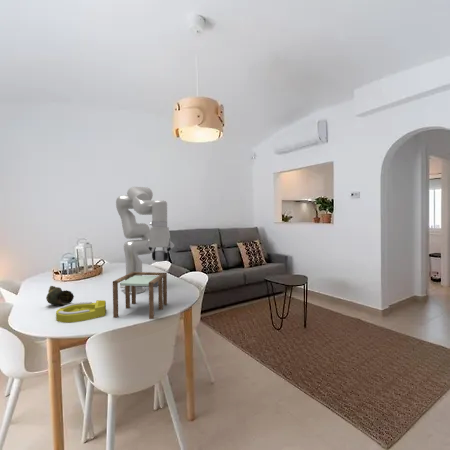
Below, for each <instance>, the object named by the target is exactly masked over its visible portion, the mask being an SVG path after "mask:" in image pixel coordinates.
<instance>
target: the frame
mask: <svg viewBox="0 0 450 450" xmlns="http://www.w3.org/2000/svg"><path fill="white" fill-rule="evenodd" d="M135 275H142V276H158V277H156V278H155V279H153V280H152V281H150V282H149V287H148V314H149V316H148V318H149V319H150V320H153V319H154V318H155V303H154V302H155V301H154V300H155V298H154V297H155V296H154V295H155V294H154V288H155V287H153V284H155V283H156V282H157V281H158V287H157V288H158V291H157V292H158V297H157V298H158V299H157V300H158V310H163V307H164V306H167V305H168V284H167V282H168V275H167V272H152V271H149V272H147V271H142V272H131V273H129V274H127V275H126V274H125V275H123V276H121V277H119V278H117V279H115V280H113V281H112V308H113V309H112V314H113V315H112V316H113V317H112V318H117V319H118V317H119V284H120V283H121V282H123V281H125V280H127V279H129V278H130V277H133V276H135ZM131 292H132V294H130V286H125V293H124V295H125V309H130V308H131V305H136V303H137V300H136V299H137V294H136V287H134V286H131Z"/></svg>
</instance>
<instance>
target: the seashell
mask: <svg viewBox="0 0 450 450" xmlns="http://www.w3.org/2000/svg"><path fill="white" fill-rule="evenodd" d="M48 288H49V289H48V293H47V295H46V302H47V303H49V304H50V305H54V306H55V305H56V306H59V305H60V306H65V305H68V304H72V302H73V300H74V297H75V296H74V293H73V292H72V291H70V290H62V288H61V287H59V286H57V287H56V286H54V285H50V286H49V287H48Z"/></svg>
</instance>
